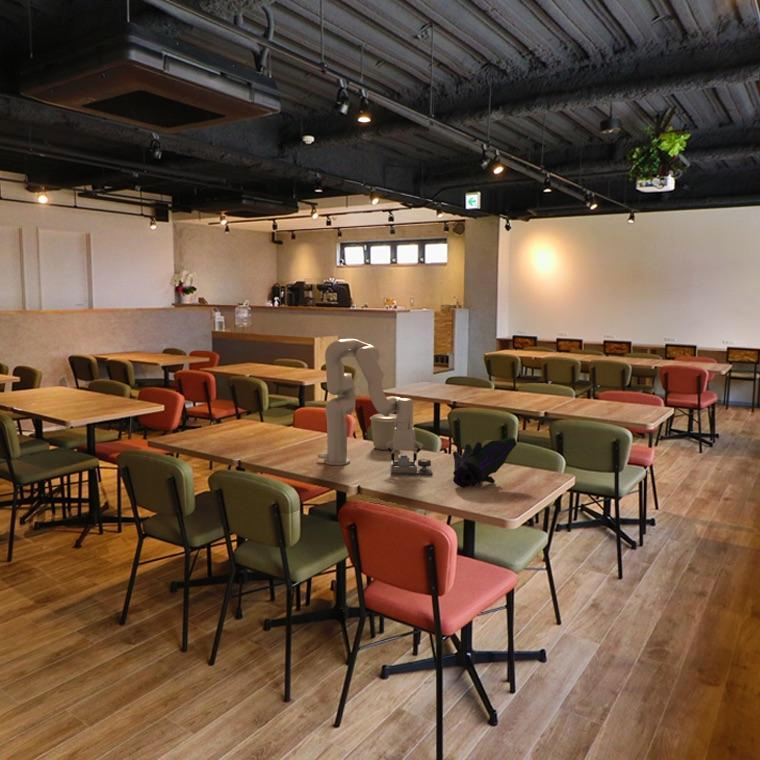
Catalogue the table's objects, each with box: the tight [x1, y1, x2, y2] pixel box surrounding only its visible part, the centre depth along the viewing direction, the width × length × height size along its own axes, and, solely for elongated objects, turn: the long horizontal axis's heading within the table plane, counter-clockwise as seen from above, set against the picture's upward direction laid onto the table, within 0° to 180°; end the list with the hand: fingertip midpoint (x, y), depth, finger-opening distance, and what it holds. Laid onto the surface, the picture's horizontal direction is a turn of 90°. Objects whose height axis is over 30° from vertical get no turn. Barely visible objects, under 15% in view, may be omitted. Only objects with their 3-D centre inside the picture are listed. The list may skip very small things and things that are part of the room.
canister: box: [369, 413, 397, 451], centre depth 336 cm, size 18×18×21 cm
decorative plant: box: [452, 437, 518, 488], centre depth 275 cm, size 21×26×30 cm
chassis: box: [390, 460, 434, 477], centre depth 291 cm, size 19×12×4 cm, turn 90°
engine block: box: [397, 453, 410, 467], centre depth 291 cm, size 5×6×7 cm
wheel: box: [417, 458, 432, 467], centre depth 291 cm, size 6×6×2 cm
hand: (403, 461), depth 291 cm, fingers open, 9 cm apart
